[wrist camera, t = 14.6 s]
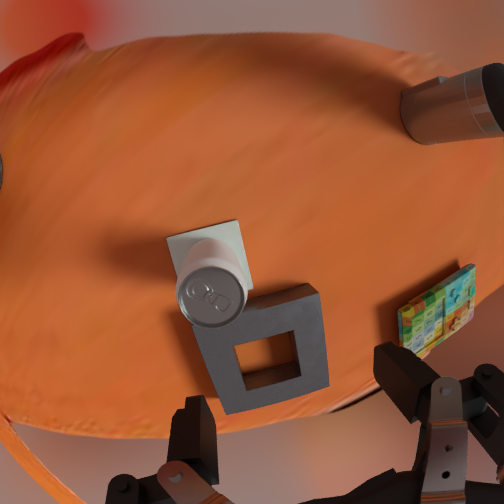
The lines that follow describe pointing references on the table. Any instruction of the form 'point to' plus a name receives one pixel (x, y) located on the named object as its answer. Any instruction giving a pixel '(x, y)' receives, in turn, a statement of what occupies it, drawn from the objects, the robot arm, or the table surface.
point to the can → (211, 285)
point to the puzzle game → (437, 311)
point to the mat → (223, 232)
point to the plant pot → (1, 171)
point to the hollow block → (262, 326)
